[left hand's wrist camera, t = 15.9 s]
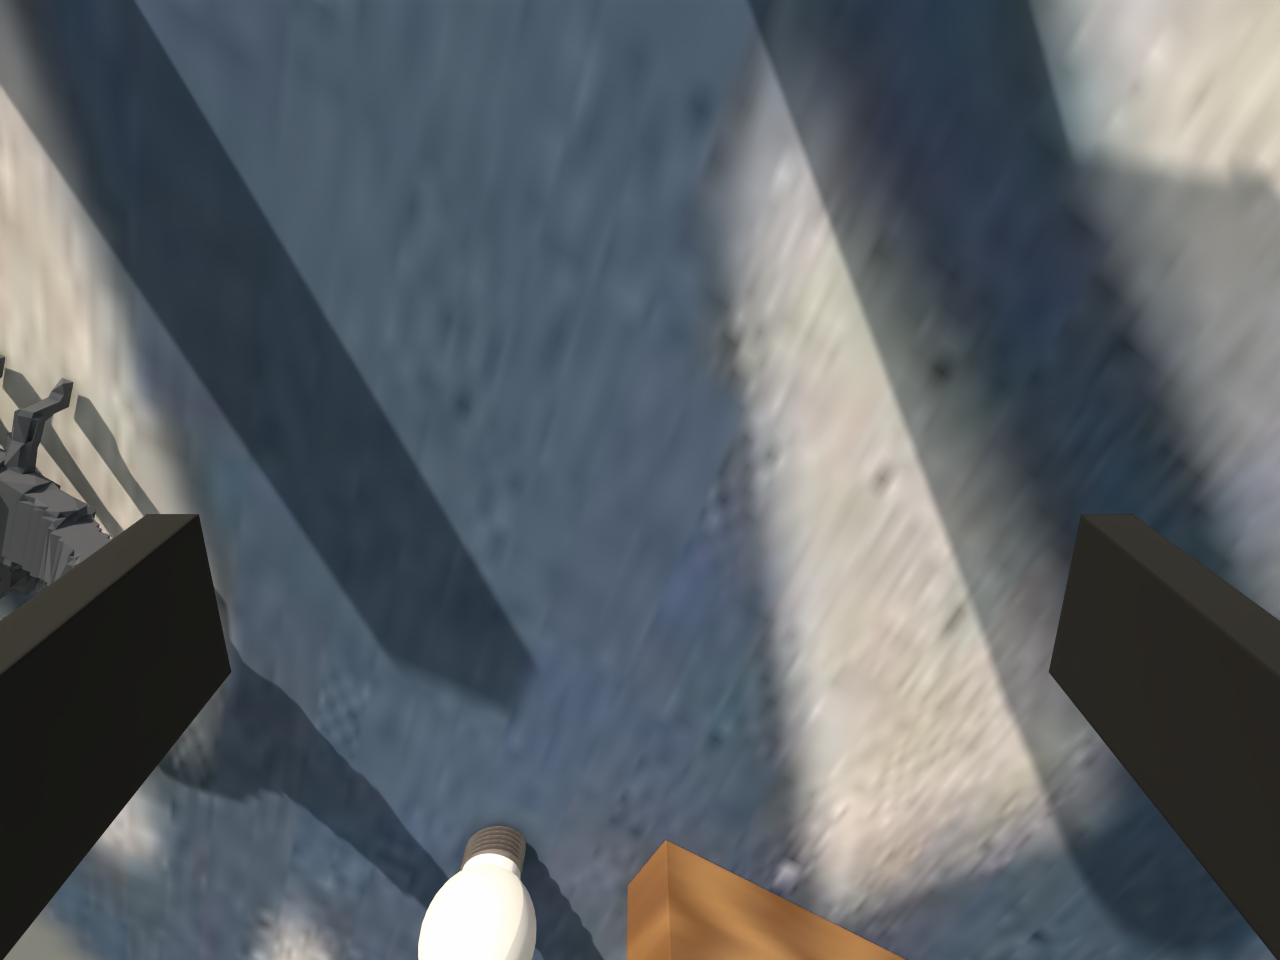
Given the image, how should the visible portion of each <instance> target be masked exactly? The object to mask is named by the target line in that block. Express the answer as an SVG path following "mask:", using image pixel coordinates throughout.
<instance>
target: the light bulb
mask: <svg viewBox="0 0 1280 960" xmlns="http://www.w3.org/2000/svg"><path fill="white" fill-rule="evenodd" d="M525 851H526V843H525V840H524V838H523V837H522V835H521V834H520V833H518V832H517V831H516V830H514V829H511V828H508V827H504V826H493V827H488V828H485V829H482V830H480V831H478V832H477V833H476V834H474V835H473V836H472V837H471V838H470V840H469V841H468V843H467V846H466V850H465V853H464V857H463V861H462V865H461V869H460V872H459V873H457V874H456V875H454V876H453V877H452V878H450V879H449V880H448V881H447V882H446V883H445V884H444V885H443V887H442V888H441V889H440V890H439V891H438V893H437V894H436V895H435V897H434V899H433V900H432V902H431V904H430V906H429V908H428V910H427V912H426V915H425V918H424V920H423V923H422V928H421V933H420V939H419V946H418V958H419V960H532V957H533V952H534V948H535V943H536V917H535V910H534V906H533V903H532V900H531V897H530V895H529V893H528V891H527V889H526V887H525V886H524V885H523V883H522V882H521V880H520V879H521V875H522V869H523V864H524V856H525Z"/></svg>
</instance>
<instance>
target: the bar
mask: <svg viewBox="0 0 1280 960" xmlns="http://www.w3.org/2000/svg"><path fill="white" fill-rule="evenodd" d="M627 960H906V959H904V958H902V957H900V956H898V955H896V954H894V953H892V952H889V951H887V950H885V949H883V948H881V947H879V946H877V945H875V944H873V943H871V942H869V941H867V940H865V939H863V938H861V937H859V936H857V935H855V934H853V933H851V932H849V931H847V930H845V929H843V928H841V927H839V926H837V925H835V924H833V923H831V922H829V921H827V920H825V919H823V918H821V917H819V916H817V915H815V914H813V913H811V912H809V911H807V910H805V909H803V908H801V907H799V906H797V905H795V904H793V903H791V902H789V901H787V900H785V899H783V898H781V897H779V896H777V895H775V894H773V893H771V892H769V891H767V890H765V889H763V888H761V887H759V886H757V885H755V884H753V883H751V882H749V881H747V880H745V879H743V878H741V877H739V876H737V875H735V874H733V873H731V872H729V871H727V870H725V869H723V868H721V867H719V866H717V865H715V864H713V863H711V862H709V861H707V860H705V859H703V858H701V857H699V856H697V855H695V854H693V853H691V852H689V851H687V850H685V849H683V848H681V847H679V846H677V845H675V844H673V843H671V842H669V841H667V840H665V841H664V843H663V844H662V845H661V846H660V847H659V849H658V850H657V851H656V852H655V853H654V855H653V856H652V857H651V858H650V859H649V861H648V862H647V863H646V864H645V866H644V867H643V868H642V869H641V870H640V872H639V873H638V874H637V875H636V876H635V878H634V879H633V880H632V881H631V882H630V884H629V885H628V917H627Z"/></svg>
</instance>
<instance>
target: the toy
mask: <svg viewBox="0 0 1280 960" xmlns="http://www.w3.org/2000/svg"><path fill="white" fill-rule="evenodd" d="M4 362H5V357H4V356H2V355H0V378H1V377H2V375H3V368H4ZM72 386H73V382H71V381H69V380H66V379H63V378H62V379H61V380H60V381H59V383H58V384H57V385H56V386H55V388H54V389H53V390H52V392H51V393H50V395H49V397H48V398H46V399H44V400H41V401H39V402H37V403H35V404H32V405H30V406H28V407H26V408H22V409H19V410H17V411H15V413H14V421H13V428H12V432H11V433H8V434H7V442H6V451H5V450H3V449H0V599H1V598H2V597H3V596H5V595H6V594H7V593H9V592H10V591H11V590H15V591H18V592H20V593H22V594H24V595H26V594H28V593H30V592H31V591H33V590H35V586H36V580H37V578H40V579H42V580H43V581H44V583H45V585H47V586H49V585H50V584H52V583H53V582H55V581H56V580H57V579H59V578H60V577H61V576H63V575H64V574H66V573H67V572H68V571H70V570H71V569H72V568H74V567H75V566H77V565H78V564H79V563H81V562H82V561H84V560H85V559H86V558H88V557H89V556H90V555H92V554H93V553H95V552H96V551H97V550H99V549H100V548H101V547H103V546H104V545H106V544H107V543H108V542H110V541H111V540H112V539H109V538H110V535H108V534H105V533H102V532H101V531H102V529H101V528H99V525H100V524H98V523H97V522H96V521H95V520H94V517H95V513H96V511H95V510H94V509H92V508H91V507H89V506H88V505H87V504H86V503H84V502H82V501H80V500H78V499H76V498H74V497H72V496H70V495H69V494H67V493H65V492H63V491H62V490H60V486H59V485H58V484H56V483H54V482H53V481H51V480H49V479H47V478H45V477H43V476H42V475H40V474H38V473H36V472H35V466H36V457H37V448H38V446H39V443H40V441H41V436H42V432H43V428H44V424H45V421H46V420H47V419H48V418H50V417H51V416H52V415H53V414H54V413H56V412H59V411H61V410H63V409H65V408H67V407H69V403H70V397H71V392H72ZM18 564H20V565H22V568H20V569H18V570H15V571H12V572H11V569H10V567H12V566H15V565H18Z"/></svg>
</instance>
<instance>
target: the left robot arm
mask: <svg viewBox="0 0 1280 960" xmlns="http://www.w3.org/2000/svg"><path fill="white" fill-rule="evenodd" d="M230 673H231V669H230V664H229V659H228V654H227V650H226V645H225V640H224V635H223V630H222V625H221V620H220V616H219V611H218V606H217V601H216V596H215V591H214V586H213V582H212V577H211V572H210V567H209V562H208V557H207V552H206V547H205V543H204V538H203V533H202V528H201V523H200V518H199V514H147V515H146V516H144V517H143V518H141V519H140V520H139V521H137V522H136V523H134V524H133V525H132V526H130V527H129V528H128V529H126V530H125V531H123V532H122V533H121V534H119V535H118V536H117V537H115V538H114V539H112V540H111V541H110V542H108V543H107V544H106V545H104V546H103V547H101V548H100V549H99V550H97V551H96V552H95V553H93V554H92V555H90V556H89V557H88V558H86V559H85V560H84V561H82V562H81V563H79V564H78V565H77V566H75V567H74V568H72V569H71V570H70V571H68V572H67V573H66V574H64V575H63V576H61V577H60V578H59V579H57V580H56V581H55V582H53V583H52V584H50V585H49V586H48V587H46V588H45V589H44V590H42V591H41V592H39V593H38V594H37V595H35V596H34V597H33V598H31V599H30V600H28V601H27V602H26V603H24V604H23V605H21V606H20V607H19V608H17V609H16V610H15V611H13V612H12V613H10V614H9V615H8V616H6V617H5V618H4V619H2V620H1V621H0V960H3V959H4V958H5V956H6V955H7V954H8V953H9V951H10V950H11V949H12V948H13V946H14V945H15V944H16V943H17V941H18V940H19V939H20V938H21V936H22V935H23V934H24V932H25V931H26V930H27V929H28V928H29V926H30V925H31V924H32V922H33V921H34V920H35V919H36V917H37V916H38V915H39V914H40V912H41V911H42V910H43V909H44V907H45V906H46V905H47V904H48V902H49V901H50V900H51V899H52V897H53V896H54V895H55V893H56V892H57V891H58V890H59V888H60V887H61V886H62V885H63V883H64V882H65V881H66V880H67V878H68V877H69V876H70V875H71V873H72V872H73V871H74V870H75V868H76V867H77V866H78V864H79V863H80V862H81V861H82V859H83V858H84V857H85V856H86V854H87V853H88V852H89V851H90V849H91V848H92V847H93V846H94V844H95V843H96V842H97V841H98V839H99V838H100V837H101V835H102V834H103V833H104V832H105V830H106V829H107V828H108V827H109V825H110V824H111V823H112V822H113V820H114V819H115V818H116V817H117V815H118V814H119V813H120V812H121V810H122V809H123V808H124V806H125V805H126V804H127V803H128V801H129V800H130V799H131V798H132V796H133V795H134V794H135V793H136V791H137V790H138V789H139V788H140V786H141V785H142V784H143V783H144V781H145V780H146V779H147V777H148V776H149V775H150V774H151V772H152V771H153V770H154V769H155V767H156V766H157V765H158V764H159V762H160V761H161V760H162V759H163V757H164V756H165V755H166V754H167V752H168V751H169V750H170V749H171V747H172V746H173V745H174V743H175V742H176V741H177V740H178V738H179V737H180V736H181V735H182V733H183V732H184V731H185V730H186V728H187V727H188V726H189V725H190V723H191V722H192V721H193V720H194V718H195V717H196V716H197V714H198V713H199V712H200V711H201V709H202V708H203V707H204V706H205V704H206V703H207V702H208V701H209V699H210V698H211V697H212V696H213V694H214V693H215V692H216V691H217V689H218V688H219V687H220V685H221V684H222V683H223V682H224V680H225V679H226V678H227V677H228V675H229V674H230ZM1049 673H1050V674H1051V675H1052V677H1053V678H1054V679H1055V680H1056V682H1057V683H1058V684H1059V685H1060V687H1061V688H1062V689H1063V691H1064V692H1065V693H1066V694H1067V696H1068V697H1069V698H1070V699H1071V701H1072V702H1073V703H1074V704H1075V706H1076V707H1077V708H1078V709H1079V711H1080V712H1081V713H1082V714H1083V716H1084V717H1085V718H1086V720H1087V721H1088V722H1089V723H1090V725H1091V726H1092V727H1093V728H1094V730H1095V731H1096V732H1097V733H1098V735H1099V736H1100V737H1101V738H1102V740H1103V741H1104V742H1105V743H1106V745H1107V746H1108V747H1109V749H1110V750H1111V751H1112V752H1113V754H1114V755H1115V756H1116V757H1117V759H1118V760H1119V761H1120V762H1121V764H1122V765H1123V766H1124V767H1125V769H1126V770H1127V771H1128V772H1129V774H1130V775H1131V776H1132V777H1133V779H1134V780H1135V781H1136V783H1137V784H1138V785H1139V786H1140V788H1141V789H1142V790H1143V791H1144V793H1145V794H1146V795H1147V796H1148V798H1149V799H1150V800H1151V801H1152V803H1153V804H1154V805H1155V806H1156V808H1157V809H1158V810H1159V812H1160V813H1161V814H1162V815H1163V817H1164V818H1165V819H1166V820H1167V822H1168V823H1169V824H1170V825H1171V827H1172V828H1173V829H1174V830H1175V832H1176V833H1177V834H1178V835H1179V837H1180V838H1181V839H1182V841H1183V842H1184V843H1185V844H1186V846H1187V847H1188V848H1189V849H1190V851H1191V852H1192V853H1193V854H1194V856H1195V857H1196V858H1197V859H1198V861H1199V862H1200V863H1201V864H1202V866H1203V867H1204V868H1205V870H1206V871H1207V872H1208V873H1209V875H1210V876H1211V877H1212V878H1213V880H1214V881H1215V882H1216V883H1217V885H1218V886H1219V887H1220V888H1221V890H1222V891H1223V892H1224V893H1225V895H1226V896H1227V897H1228V899H1229V900H1230V901H1231V902H1232V904H1233V905H1234V906H1235V907H1236V909H1237V910H1238V911H1239V912H1240V914H1241V915H1242V916H1243V917H1244V919H1245V920H1246V921H1247V922H1248V924H1249V925H1250V926H1251V928H1252V929H1253V930H1254V931H1255V933H1256V934H1257V935H1258V936H1259V938H1260V939H1261V940H1262V941H1263V943H1264V944H1265V945H1266V946H1267V948H1268V949H1269V950H1270V951H1271V953H1272V954H1273V955H1274V957H1275V958H1276V959H1277V960H1280V621H1279V620H1278V619H1276V618H1275V617H1274V616H1272V615H1271V614H1270V613H1268V612H1267V611H1265V610H1264V609H1263V608H1261V607H1260V606H1259V605H1257V604H1256V603H1254V602H1253V601H1252V600H1250V599H1249V598H1247V597H1246V596H1245V595H1243V594H1242V593H1241V592H1239V591H1238V590H1236V589H1235V588H1234V587H1232V586H1231V585H1230V584H1228V583H1227V582H1225V581H1224V580H1223V579H1221V578H1220V577H1219V576H1217V575H1216V574H1214V573H1213V572H1212V571H1210V570H1209V569H1208V568H1206V567H1205V566H1203V565H1202V564H1201V563H1199V562H1198V561H1196V560H1195V559H1194V558H1192V557H1191V556H1190V555H1188V554H1187V553H1185V552H1184V551H1183V550H1181V549H1180V548H1179V547H1177V546H1176V545H1174V544H1173V543H1172V542H1170V541H1169V540H1168V539H1166V538H1165V537H1163V536H1162V535H1161V534H1159V533H1158V532H1157V531H1155V530H1154V529H1152V528H1151V527H1150V526H1148V525H1147V524H1146V523H1144V522H1143V521H1141V520H1140V519H1139V518H1137V517H1136V516H1134V515H1133V514H1081V518H1080V523H1079V528H1078V533H1077V538H1076V543H1075V547H1074V552H1073V557H1072V562H1071V567H1070V572H1069V577H1068V581H1067V586H1066V591H1065V596H1064V601H1063V606H1062V611H1061V616H1060V620H1059V625H1058V630H1057V635H1056V640H1055V645H1054V650H1053V654H1052V659H1051V664H1050V669H1049Z"/></svg>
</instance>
